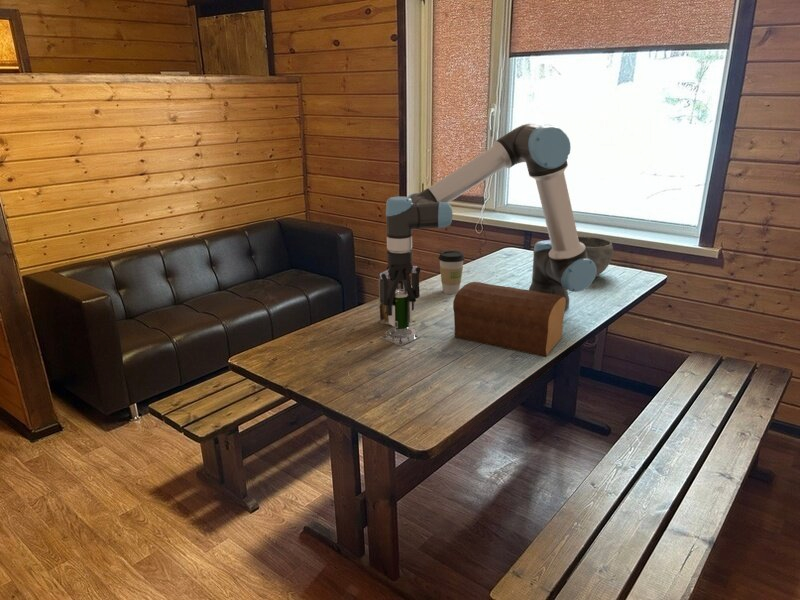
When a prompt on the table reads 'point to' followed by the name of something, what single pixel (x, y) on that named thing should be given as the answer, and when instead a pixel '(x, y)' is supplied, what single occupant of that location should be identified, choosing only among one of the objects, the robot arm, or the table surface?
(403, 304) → the beer can
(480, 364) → the table surface
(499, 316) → the bread
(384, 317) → the coffee box
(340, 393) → the table surface
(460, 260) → the coffee cup
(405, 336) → the duct flange
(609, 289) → the table surface
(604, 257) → the bowl
